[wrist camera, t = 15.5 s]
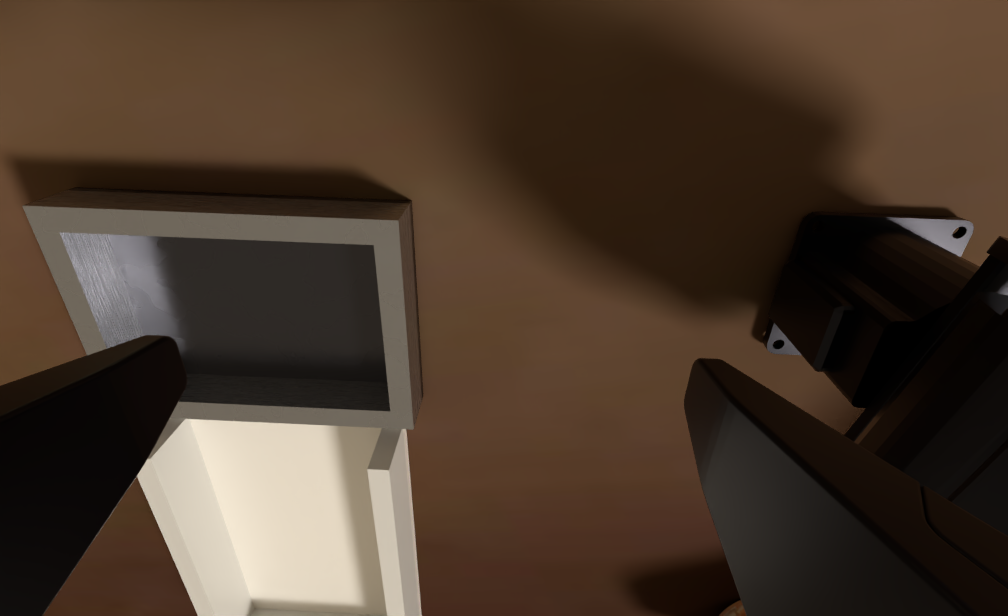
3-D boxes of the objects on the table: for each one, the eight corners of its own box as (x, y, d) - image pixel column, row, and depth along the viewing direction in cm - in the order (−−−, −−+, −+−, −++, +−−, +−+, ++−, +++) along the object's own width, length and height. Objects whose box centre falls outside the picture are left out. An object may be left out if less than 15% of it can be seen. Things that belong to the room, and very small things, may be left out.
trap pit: (411, 200, 21) (398, 220, 19) (423, 395, 26) (413, 429, 23) (74, 187, 21) (22, 205, 19) (148, 383, 26) (113, 415, 24)
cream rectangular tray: (404, 409, 26) (388, 462, 23) (421, 616, 35) (411, 675, 32) (173, 399, 26) (125, 449, 23) (247, 607, 35) (219, 664, 32)
